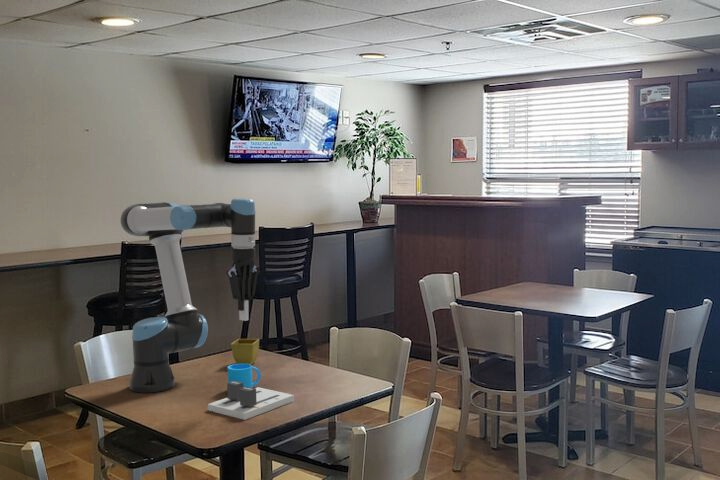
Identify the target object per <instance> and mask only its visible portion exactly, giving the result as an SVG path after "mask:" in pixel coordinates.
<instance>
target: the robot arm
mask: <svg viewBox="0 0 720 480" xmlns="http://www.w3.org/2000/svg"><path fill="white" fill-rule="evenodd" d="M256 214H257V213H256V206H255V200H253V199H252V198H233V199H232V200H231V201H230V204H229V203H224V202H214V203H211V204H210V203H209V204H207V203H206V204H189V205H188V204H185V205H181V204H180V205H178V204H177V203H175V202H166V201H163V202H153V203H152V202H151V203H135V204H132V205H130V206H128V207H126V208H125V209H124V210H123V211H122V212H121V215H120V219H119V221H120V225H121V228H122V229H123V230H124V231H125V232H126V233H127V234H129V235H131V236H134V237H148V239H149V240H148V241H149V243H150V244H151V245H153V246H154V248H155V249H154V250H155V253H156V257H157V264H158V268H159V272H160V278H161V283H162V288H163V293H164V298H165V303H166V304H165V305H166V307H167V308H166V309H167V312H166V313H165V315H164V316H154V317H147V318H143V319H141V320H139V321H137V322H135V323H134V325H133V327H132V335H131V338H132V350H133V353H132V354H133V368H132V373H131V377H130V380H129V390H130V391H131V392H136V393H140V394H141V393H143V394H146V393H158V392H163V391H167V390H170V389H173V388H174V387H175V386H176V379H175V376H174V373H173V370H172V368H171V365H170V360H169V359H170V357H169V354H172V353H173V354H174V353H178V352H184V351H188V350H189V351H190V350H194V349H196V348H199V347H202V346H203V345H204V344H205V342H206V339H207V338H208V334H209V333H208V332H209V326H208V322H207V319H206V318H205V316H204V315H203V314H199V312H198V308H196V307H194V306H193V304H192V298H191V294H190V289H189V284H188V280H187V279H188V278H187V274H186V270H185V265H184V260H183V255H182V250H181V249H182V248H181V245H180V241H181V238H182V237H183V234H182V233H183V232H184V231H185V230H186V231H187V230H188V231H189V230H196V229H197V230H198V229H208V228H209V229H211V228H230V229H231V230H230V232H231V233H230V234H231V241H230V243H231V244H230V246H231V247H232V248H231V252H230V253H231V260H232V266H231V269H230V270H226V274H227V275H226V276H228V280H229V285H230V291H231V295H232V299H233V300H236V301H237V310H238V315H239V316H238V318H239V319H238V320H239V321H242V322H243V321H244V322H246V321H249V315H250V314H249V310H250V305H251V303H250V301H252V300H253V298H254V297H255V295H256V289H257V288H256V287H257V284H258V283H257V282H258V275H259V272H260V270H261V268H260V267H259V266H256V265H255V261H254V260H255V259H256V248H255V246H256Z"/></svg>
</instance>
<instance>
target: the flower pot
mask: <svg viewBox="0 0 720 480" xmlns="http://www.w3.org/2000/svg"><path fill="white" fill-rule="evenodd" d="M230 347H231V350H232V351H231V352H232V357H233V359H234V361H235V364H250V365H252V366H253V364H254V363H255V362H256V361H257V358H258V354H259V349H260V339H259V338H238V339H236V340H235V341H233V342H231V343H230Z"/></svg>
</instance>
